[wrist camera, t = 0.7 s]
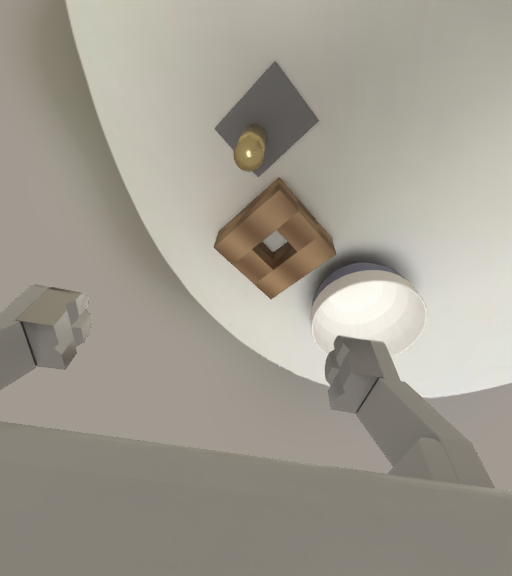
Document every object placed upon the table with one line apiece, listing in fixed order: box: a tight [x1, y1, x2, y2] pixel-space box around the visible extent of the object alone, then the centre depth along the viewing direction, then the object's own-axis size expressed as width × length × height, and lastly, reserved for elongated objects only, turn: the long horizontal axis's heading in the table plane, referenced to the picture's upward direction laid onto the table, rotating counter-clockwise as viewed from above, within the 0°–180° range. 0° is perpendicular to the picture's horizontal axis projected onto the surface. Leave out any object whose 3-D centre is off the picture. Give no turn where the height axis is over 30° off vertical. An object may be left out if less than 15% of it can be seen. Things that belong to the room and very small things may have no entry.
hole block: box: [214, 178, 336, 299], centre depth 45 cm, size 12×12×5 cm
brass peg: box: [234, 123, 266, 171], centre depth 35 cm, size 3×3×10 cm
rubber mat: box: [215, 61, 319, 177], centre depth 39 cm, size 10×8×1 cm
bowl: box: [310, 263, 427, 358], centre depth 49 cm, size 16×16×10 cm
